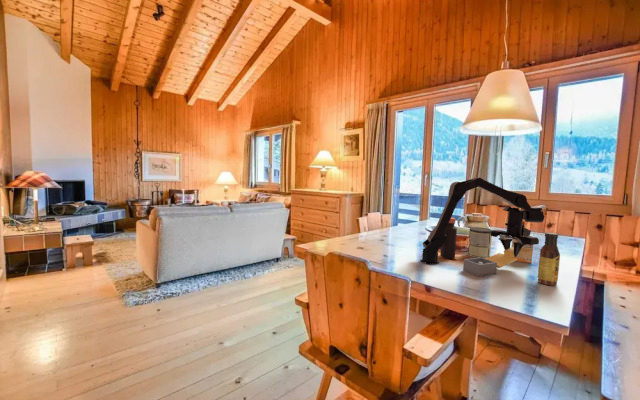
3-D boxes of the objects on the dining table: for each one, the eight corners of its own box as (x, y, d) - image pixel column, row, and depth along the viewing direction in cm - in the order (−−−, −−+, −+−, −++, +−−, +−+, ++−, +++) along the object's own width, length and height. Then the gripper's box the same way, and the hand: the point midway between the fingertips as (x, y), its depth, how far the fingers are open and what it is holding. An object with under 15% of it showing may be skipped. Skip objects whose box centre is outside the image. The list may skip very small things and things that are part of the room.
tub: (478, 276, 122) (479, 264, 122) (463, 270, 130) (463, 259, 129) (496, 274, 126) (497, 262, 125) (479, 268, 133) (480, 257, 133)
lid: (499, 268, 126) (498, 262, 125) (482, 262, 134) (481, 256, 133) (524, 256, 131) (524, 250, 131) (506, 251, 139) (506, 245, 138)
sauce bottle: (558, 287, 112) (563, 236, 110) (537, 284, 115) (542, 233, 113) (555, 282, 118) (561, 233, 116) (536, 279, 121) (541, 231, 119)
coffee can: (464, 252, 159) (466, 226, 158) (484, 253, 158) (486, 227, 157) (472, 258, 149) (474, 230, 147) (494, 259, 148) (496, 231, 146)
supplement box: (512, 261, 145) (514, 234, 144) (510, 258, 150) (512, 233, 149) (532, 263, 142) (534, 236, 141) (529, 260, 147) (531, 234, 145)
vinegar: (437, 255, 152) (439, 217, 150) (448, 255, 154) (451, 216, 152) (446, 259, 145) (448, 219, 143) (457, 258, 147) (460, 219, 145)
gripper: (549, 224, 127) (545, 259, 129) (507, 217, 144) (504, 249, 146) (531, 225, 123) (528, 262, 125) (491, 218, 140) (488, 250, 142)
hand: (511, 255), depth 134 cm, fingers closed on lid, 3 cm apart
